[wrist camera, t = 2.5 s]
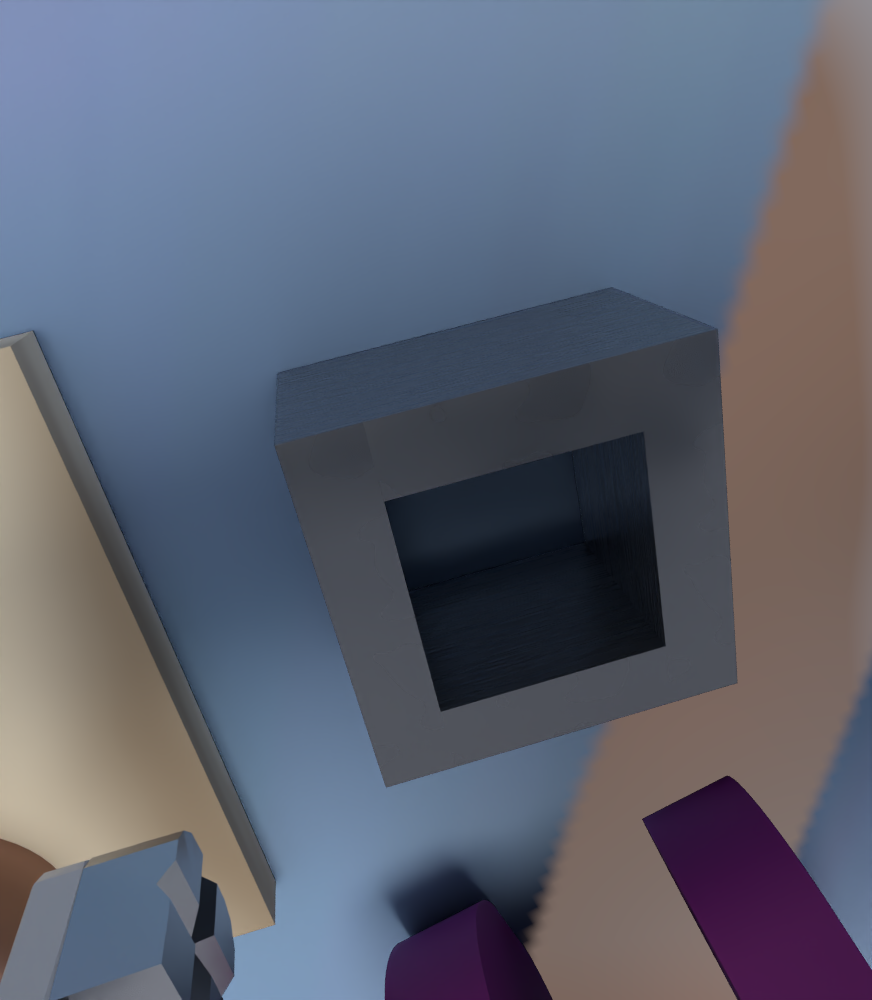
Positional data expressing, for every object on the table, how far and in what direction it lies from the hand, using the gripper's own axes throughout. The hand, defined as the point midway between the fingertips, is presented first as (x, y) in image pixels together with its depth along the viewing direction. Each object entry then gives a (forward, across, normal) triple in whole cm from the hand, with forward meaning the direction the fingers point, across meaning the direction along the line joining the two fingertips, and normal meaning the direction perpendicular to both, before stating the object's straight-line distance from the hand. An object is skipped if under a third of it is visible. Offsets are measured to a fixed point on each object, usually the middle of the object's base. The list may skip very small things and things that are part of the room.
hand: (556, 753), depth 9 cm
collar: (+8, -1, 0) cm, 8 cm away
